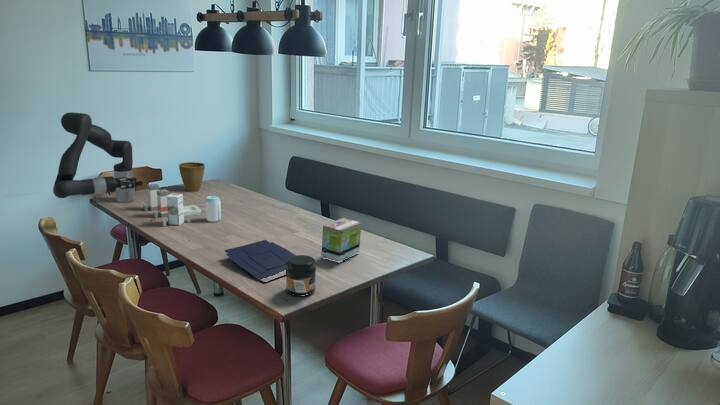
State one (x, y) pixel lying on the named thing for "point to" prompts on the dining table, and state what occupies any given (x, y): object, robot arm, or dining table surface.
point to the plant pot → (192, 175)
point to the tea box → (341, 239)
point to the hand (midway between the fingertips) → (139, 181)
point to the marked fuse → (162, 202)
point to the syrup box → (175, 209)
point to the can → (213, 209)
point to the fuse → (152, 196)
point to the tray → (191, 210)
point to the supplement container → (300, 275)
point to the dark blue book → (261, 258)
